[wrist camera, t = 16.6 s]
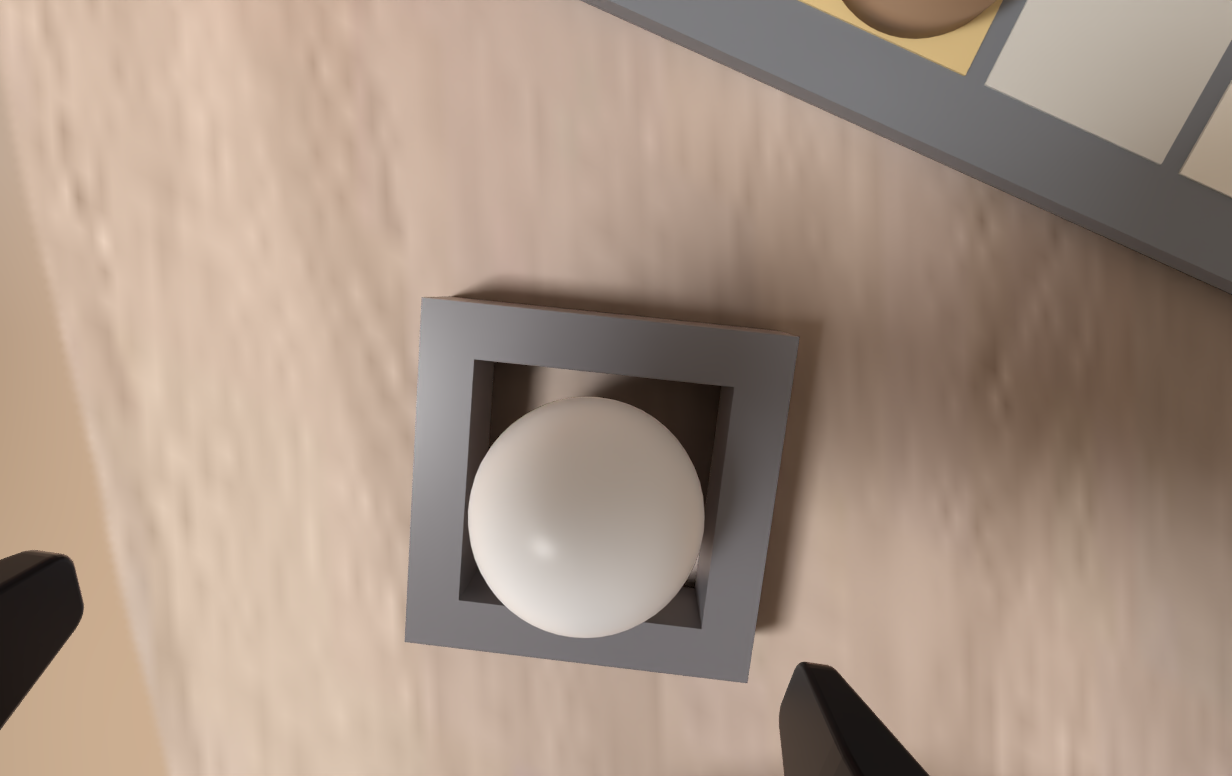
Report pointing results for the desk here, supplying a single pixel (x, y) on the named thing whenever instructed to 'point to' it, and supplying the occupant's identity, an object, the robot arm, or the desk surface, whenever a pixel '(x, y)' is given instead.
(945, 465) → the desk surface
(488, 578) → the white sphere
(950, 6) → the walnut pawn
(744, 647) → the collar
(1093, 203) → the game track
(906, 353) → the desk surface
